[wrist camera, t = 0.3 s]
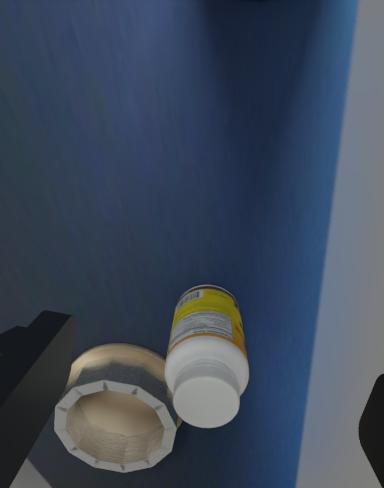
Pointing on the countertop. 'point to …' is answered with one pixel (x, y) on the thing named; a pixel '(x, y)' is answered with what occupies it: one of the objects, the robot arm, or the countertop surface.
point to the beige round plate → (119, 393)
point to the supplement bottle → (207, 357)
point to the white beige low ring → (107, 443)
